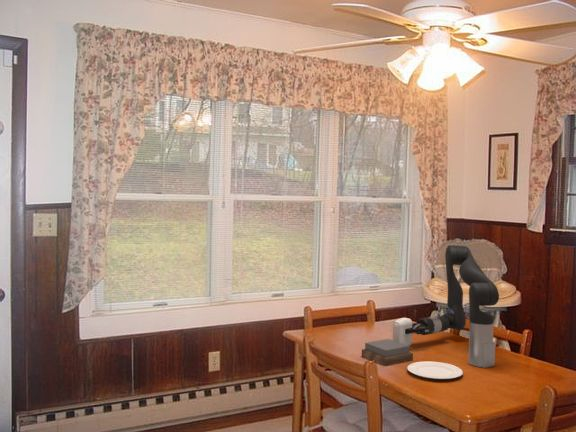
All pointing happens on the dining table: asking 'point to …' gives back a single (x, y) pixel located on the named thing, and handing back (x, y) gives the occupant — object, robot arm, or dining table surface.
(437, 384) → the dining table surface
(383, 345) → the top brick
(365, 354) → the base brick
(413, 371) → the plate
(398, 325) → the photo printer
